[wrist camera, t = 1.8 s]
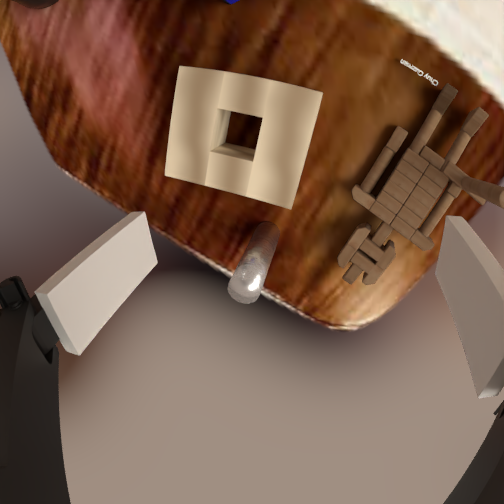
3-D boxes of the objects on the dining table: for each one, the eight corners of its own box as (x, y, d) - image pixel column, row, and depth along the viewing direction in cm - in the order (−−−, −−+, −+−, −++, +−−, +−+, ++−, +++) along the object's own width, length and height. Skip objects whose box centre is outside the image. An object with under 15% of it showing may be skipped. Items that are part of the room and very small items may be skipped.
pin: (253, 239, 39) (225, 297, 29) (258, 218, 38) (230, 273, 28) (276, 246, 39) (255, 307, 29) (282, 225, 38) (262, 283, 28)
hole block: (183, 163, 36) (164, 175, 32) (198, 67, 30) (179, 66, 26) (296, 193, 35) (291, 209, 31) (323, 92, 29) (322, 92, 24)
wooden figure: (575, 135, 10) (381, 394, 22) (498, 141, 25) (389, 301, 37) (408, 2, 13) (237, 294, 24) (400, 69, 28) (299, 237, 40)
